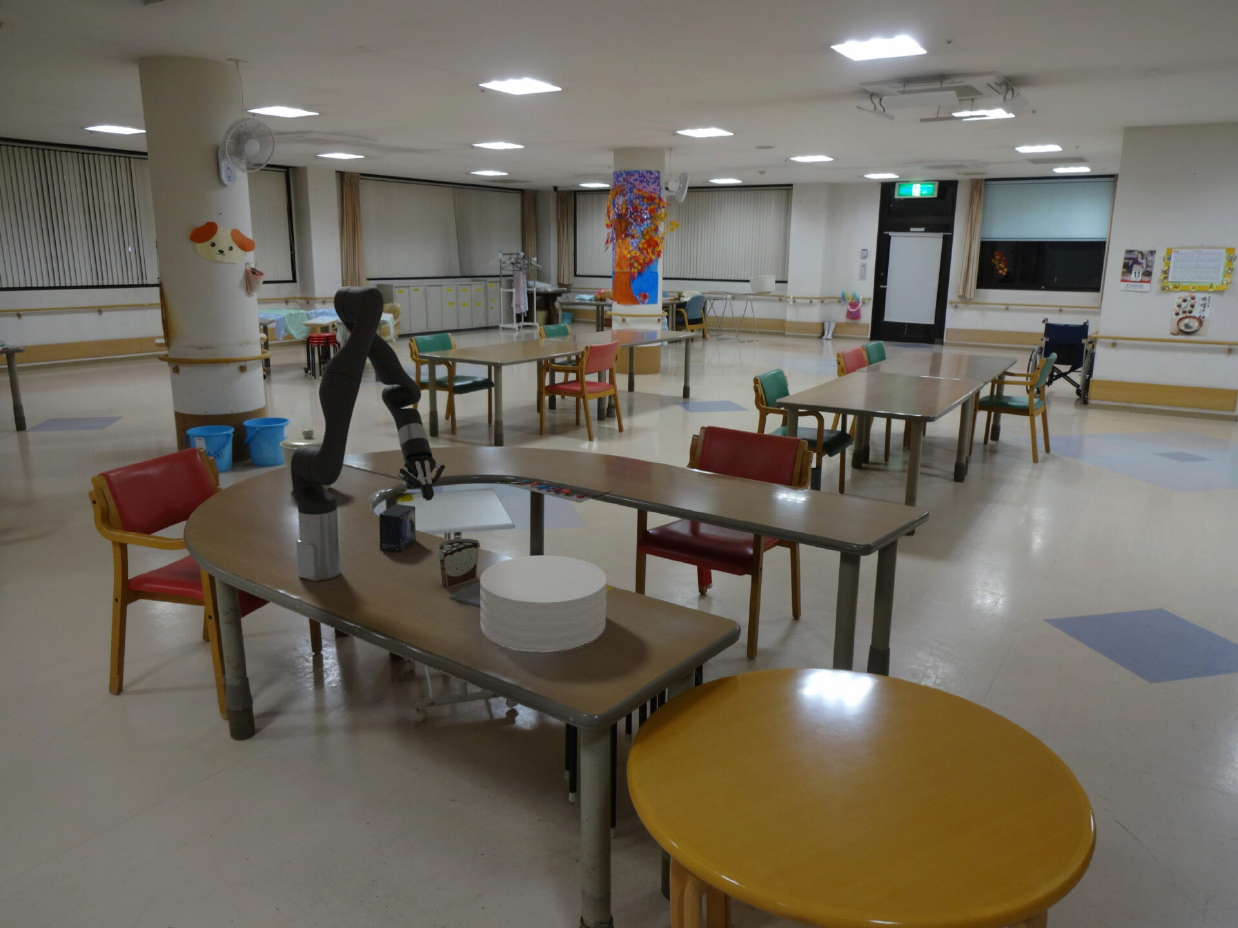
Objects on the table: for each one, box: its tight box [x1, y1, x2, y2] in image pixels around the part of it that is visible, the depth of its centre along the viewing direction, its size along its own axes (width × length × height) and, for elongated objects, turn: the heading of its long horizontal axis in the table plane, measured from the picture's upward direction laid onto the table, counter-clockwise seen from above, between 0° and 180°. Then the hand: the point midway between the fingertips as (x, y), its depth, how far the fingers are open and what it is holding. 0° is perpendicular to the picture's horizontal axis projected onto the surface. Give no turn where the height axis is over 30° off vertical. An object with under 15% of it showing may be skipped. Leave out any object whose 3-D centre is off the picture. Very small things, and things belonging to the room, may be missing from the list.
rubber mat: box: [449, 580, 481, 608], centre depth 211 cm, size 18×10×1 cm, turn 149°
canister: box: [279, 428, 333, 491], centre depth 288 cm, size 18×18×21 cm
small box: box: [378, 503, 417, 553], centre depth 239 cm, size 11×6×10 cm, turn 168°
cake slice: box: [435, 538, 481, 590], centre depth 215 cm, size 12×6×10 cm, turn 141°
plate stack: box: [479, 554, 608, 651], centre depth 192 cm, size 28×28×12 cm
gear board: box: [496, 480, 593, 504], centre depth 306 cm, size 45×2×19 cm
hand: (429, 498), depth 227 cm, fingers closed
